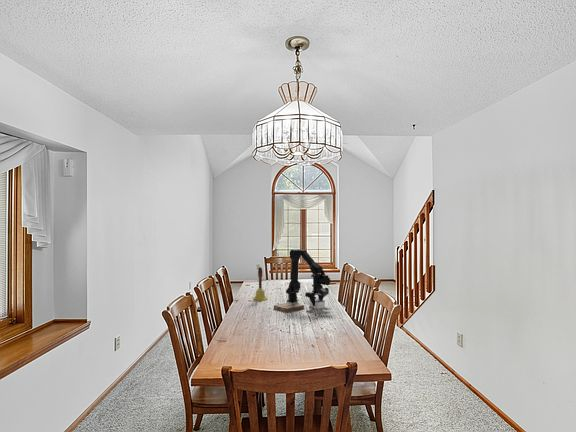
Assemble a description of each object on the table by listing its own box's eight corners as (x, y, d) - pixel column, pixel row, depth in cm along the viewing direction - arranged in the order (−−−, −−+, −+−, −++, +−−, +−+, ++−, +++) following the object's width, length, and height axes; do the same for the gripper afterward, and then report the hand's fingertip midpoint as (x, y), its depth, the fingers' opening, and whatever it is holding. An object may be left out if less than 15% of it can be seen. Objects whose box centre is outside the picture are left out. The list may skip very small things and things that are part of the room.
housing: (309, 306, 283) (309, 299, 283) (316, 305, 286) (316, 298, 286) (318, 308, 274) (318, 301, 274) (324, 307, 278) (324, 300, 278)
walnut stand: (273, 308, 274) (273, 305, 274) (290, 305, 285) (290, 302, 285) (287, 312, 264) (287, 308, 264) (304, 308, 274) (304, 305, 274)
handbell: (253, 301, 299) (253, 268, 299) (251, 298, 311) (251, 266, 311) (269, 300, 302) (269, 268, 302) (266, 297, 314) (266, 266, 314)
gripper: (316, 286, 268) (316, 309, 268) (334, 283, 280) (334, 305, 280) (304, 284, 276) (304, 306, 276) (322, 281, 289) (322, 302, 289)
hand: (317, 305), depth 280 cm, fingers closed on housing, 6 cm apart
